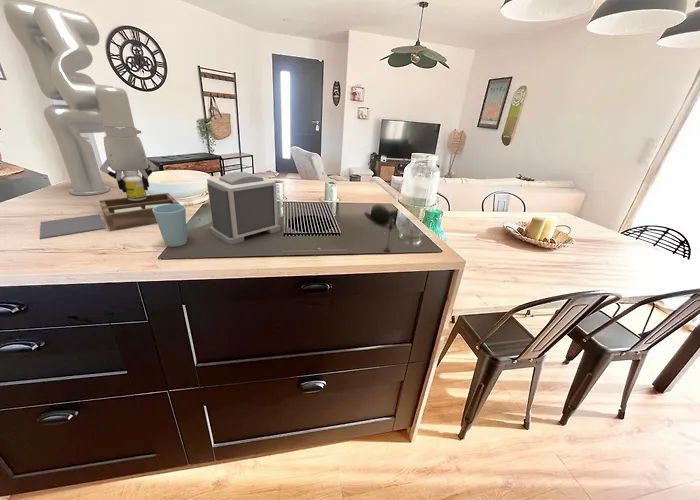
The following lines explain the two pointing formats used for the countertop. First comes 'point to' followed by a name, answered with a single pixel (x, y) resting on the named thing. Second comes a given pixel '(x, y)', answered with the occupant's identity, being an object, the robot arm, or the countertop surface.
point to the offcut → (127, 209)
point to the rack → (133, 211)
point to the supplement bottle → (134, 185)
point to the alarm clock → (242, 206)
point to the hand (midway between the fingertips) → (135, 189)
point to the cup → (172, 223)
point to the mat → (70, 226)
